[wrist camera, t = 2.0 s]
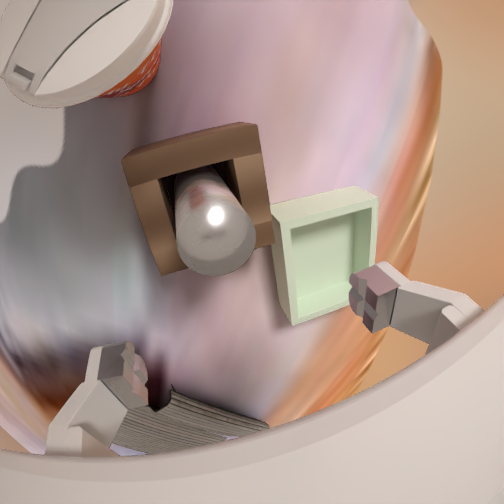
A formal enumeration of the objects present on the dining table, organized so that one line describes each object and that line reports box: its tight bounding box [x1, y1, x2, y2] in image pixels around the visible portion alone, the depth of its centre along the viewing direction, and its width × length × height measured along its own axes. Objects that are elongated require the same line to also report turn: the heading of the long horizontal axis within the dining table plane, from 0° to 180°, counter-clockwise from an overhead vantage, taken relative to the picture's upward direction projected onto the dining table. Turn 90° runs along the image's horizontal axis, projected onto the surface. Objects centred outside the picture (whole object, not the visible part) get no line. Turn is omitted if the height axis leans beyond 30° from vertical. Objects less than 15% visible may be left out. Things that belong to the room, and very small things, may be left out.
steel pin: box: [174, 165, 256, 276], centre depth 19 cm, size 4×4×11 cm
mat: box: [112, 384, 270, 454], centre depth 40 cm, size 23×24×5 cm
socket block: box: [121, 122, 275, 276], centre depth 21 cm, size 9×9×5 cm
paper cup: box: [0, 0, 173, 108], centre depth 11 cm, size 8×8×14 cm
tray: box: [270, 185, 378, 326], centre depth 28 cm, size 12×10×4 cm
